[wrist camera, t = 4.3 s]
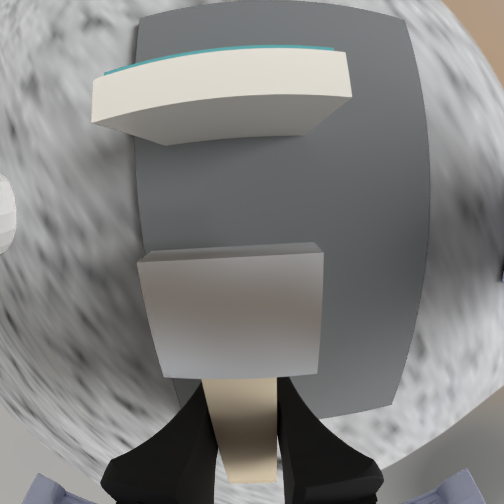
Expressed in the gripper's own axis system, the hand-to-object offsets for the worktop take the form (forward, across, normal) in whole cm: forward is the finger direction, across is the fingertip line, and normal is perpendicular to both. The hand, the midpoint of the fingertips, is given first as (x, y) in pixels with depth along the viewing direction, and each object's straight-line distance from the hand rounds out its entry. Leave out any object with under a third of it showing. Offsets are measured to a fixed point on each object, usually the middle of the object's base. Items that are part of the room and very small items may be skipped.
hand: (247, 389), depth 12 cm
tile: (+2, 0, -12) cm, 12 cm away
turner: (+2, 0, -1) cm, 2 cm away
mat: (+3, -2, -7) cm, 8 cm away
